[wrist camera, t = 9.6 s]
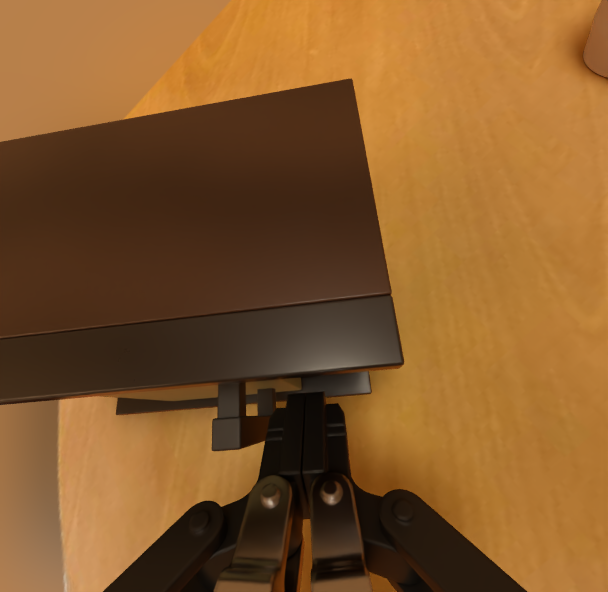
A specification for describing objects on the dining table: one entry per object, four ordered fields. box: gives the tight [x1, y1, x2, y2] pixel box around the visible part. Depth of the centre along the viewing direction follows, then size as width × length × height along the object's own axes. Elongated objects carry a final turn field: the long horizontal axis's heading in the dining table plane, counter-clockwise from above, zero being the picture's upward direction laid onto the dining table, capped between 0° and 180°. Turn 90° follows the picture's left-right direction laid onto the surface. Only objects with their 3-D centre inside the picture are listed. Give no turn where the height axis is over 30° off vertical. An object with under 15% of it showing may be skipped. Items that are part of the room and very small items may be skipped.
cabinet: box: [0, 79, 404, 415], centre depth 16 cm, size 10×16×12 cm, turn 94°
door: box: [103, 377, 302, 451], centre depth 14 cm, size 3×8×10 cm, turn 95°
